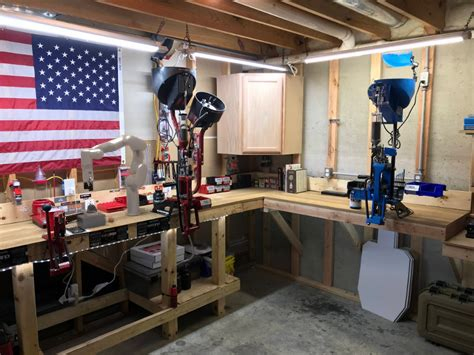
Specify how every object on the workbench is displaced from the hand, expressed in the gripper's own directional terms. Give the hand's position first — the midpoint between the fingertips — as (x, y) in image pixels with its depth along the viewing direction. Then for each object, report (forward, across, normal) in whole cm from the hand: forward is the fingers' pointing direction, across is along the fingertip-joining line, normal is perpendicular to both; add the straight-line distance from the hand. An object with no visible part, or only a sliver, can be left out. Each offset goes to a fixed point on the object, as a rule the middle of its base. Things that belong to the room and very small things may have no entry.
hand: (88, 190), depth 278 cm
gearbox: (+25, -8, +2) cm, 26 cm away
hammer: (+25, +12, +6) cm, 28 cm away
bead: (+25, -7, -13) cm, 29 cm away
